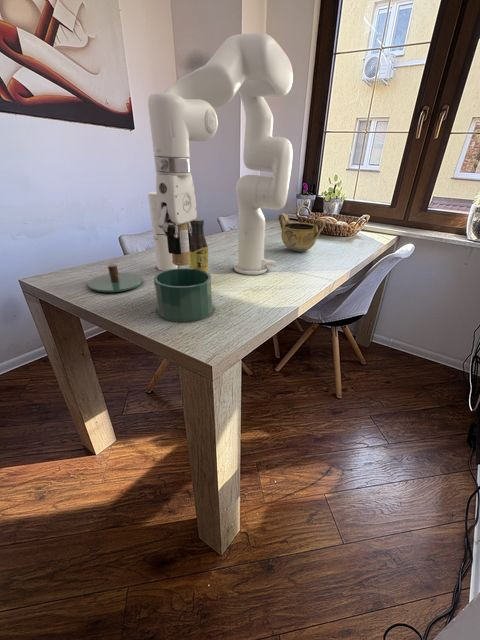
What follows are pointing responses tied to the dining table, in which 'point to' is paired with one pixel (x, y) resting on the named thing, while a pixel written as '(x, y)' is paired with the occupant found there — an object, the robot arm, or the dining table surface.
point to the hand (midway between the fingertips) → (180, 250)
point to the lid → (114, 281)
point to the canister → (183, 294)
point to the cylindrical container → (159, 237)
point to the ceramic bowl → (299, 234)
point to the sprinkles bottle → (182, 246)
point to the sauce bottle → (198, 247)
